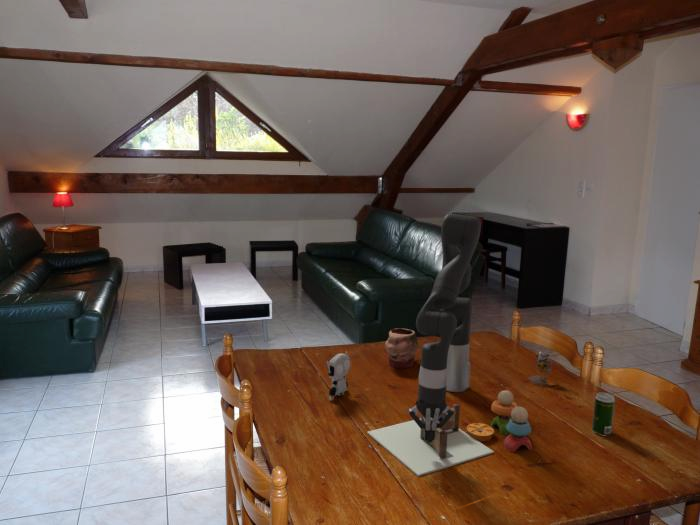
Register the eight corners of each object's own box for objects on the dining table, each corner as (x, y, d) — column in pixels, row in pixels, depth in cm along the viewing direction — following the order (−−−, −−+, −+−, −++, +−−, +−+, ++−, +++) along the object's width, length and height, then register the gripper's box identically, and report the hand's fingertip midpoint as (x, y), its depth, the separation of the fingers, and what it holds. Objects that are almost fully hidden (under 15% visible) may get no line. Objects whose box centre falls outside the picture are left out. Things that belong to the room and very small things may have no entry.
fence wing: (423, 439, 163) (424, 417, 162) (429, 438, 164) (430, 416, 163) (440, 458, 153) (442, 434, 152) (447, 457, 154) (448, 433, 152)
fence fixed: (455, 427, 172) (456, 402, 171) (460, 430, 170) (461, 405, 169) (418, 437, 166) (419, 411, 164) (423, 440, 164) (424, 415, 162)
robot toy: (335, 404, 188) (336, 361, 185) (324, 401, 190) (325, 359, 187) (354, 391, 198) (355, 351, 195) (343, 388, 201) (344, 348, 198)
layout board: (436, 415, 181) (436, 413, 181) (493, 452, 159) (493, 450, 158) (367, 433, 169) (367, 431, 168) (417, 476, 146) (418, 474, 146)
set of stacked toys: (459, 430, 172) (461, 391, 170) (506, 421, 178) (508, 384, 176) (493, 459, 155) (496, 417, 153) (544, 449, 162) (548, 408, 159)
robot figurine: (560, 381, 211) (563, 351, 208) (557, 390, 202) (559, 358, 200) (529, 375, 216) (532, 346, 213) (525, 384, 207) (527, 353, 205)
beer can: (615, 434, 170) (619, 397, 168) (602, 438, 168) (606, 400, 166) (600, 427, 175) (604, 390, 173) (587, 430, 173) (591, 393, 170)
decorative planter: (397, 353, 237) (398, 321, 235) (425, 358, 232) (426, 326, 229) (377, 369, 220) (378, 334, 217) (407, 374, 214) (408, 339, 212)
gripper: (411, 387, 148) (408, 448, 151) (460, 387, 149) (456, 447, 152) (405, 376, 155) (402, 435, 158) (452, 376, 157) (448, 434, 160)
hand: (428, 441), depth 155 cm, fingers closed
